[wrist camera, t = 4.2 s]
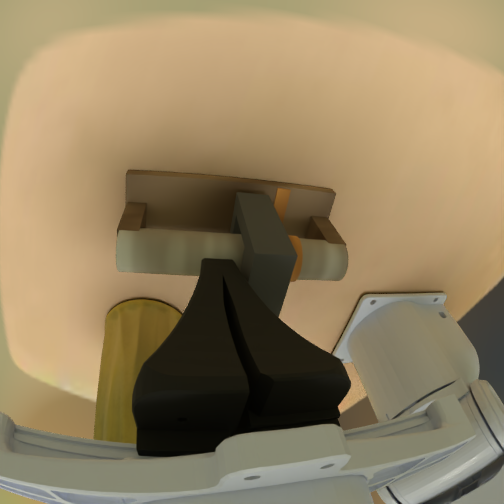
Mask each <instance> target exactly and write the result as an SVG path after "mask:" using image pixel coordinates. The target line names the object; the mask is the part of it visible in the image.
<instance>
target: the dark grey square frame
mask: <svg viewBox="0 0 504 504" xmlns="http://www.w3.org/2000/svg"><path fill="white" fill-rule="evenodd" d="M230 233H232V234H241V235H242V239H243V243H244V252H243V257H242V262H241V268H240V271H241V273H242V274H243V276H244V277H245V279H246V280H247V282H248V283H249V285H250V286H251V287H252V289H253V290H254V291H255V292H256V294H257V295H258V296H259V297H260V299H261V300H262V301H263V302H264V303H265V304H266V306H267V307H268V308H269V309H270V310H271V311H272V312H273V313H274V314H275V315H276V316H277V317H279V314H280V311H281V308H282V305H283V302H284V299H285V295H286V292H287V289H288V286H289V283H290V279H291V276H292V273H293V270H294V266H295V263H296V260H297V257H298V255H297V253H296V251H295V249H294V247H293V245H292V242H291V240H290V238H289V236H288V234H287V232H286V230H285V228H284V226H283V224H282V222H281V220H280V217H279V215H278V213H277V211H276V209H275V207H274V205H273V203H272V201H271V199H270V197H269V195H262V194H252V193H241V192H237V193H236V199H235V205H234V211H233V217H232V223H231V229H230Z"/></svg>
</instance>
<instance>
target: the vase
mask: <svg viewBox="0 0 504 504" xmlns="http://www.w3.org/2000/svg"><path fill="white" fill-rule="evenodd" d="M181 316H182V315H181V314H180V313H179V312H178V311H177V310H175V309H174V308H172V307H171V306H169V305H167V304H164V303H161V302H158V301H154V300H146V299H137V300H130V301H126V302H123V303H121V304H119V305H117V306H116V307H114V308H113V309H112V310H111V311H110V312H109V313H108V315H107V317H106V320H105V337H104V343H103V350H102V357H101V365H100V375H99V384H98V393H97V402H96V414H95V426H94V427H95V428H94V440H101V441H110V442H119V443H131V444H136V436H137V427H136V424H135V420H134V417H133V413H132V394H133V389H134V385H135V382H136V379H137V377H138V374H139V372H140V370H141V367H142V365H143V363H144V362H145V361H146V360H147V359H148V358H149V357H150V356H151V355H152V354H153V353H154V352H155V351H156V350H157V349H158V348H159V346H160V345H161V344H162V343H163V342H164V340H165V339H166V338H167V337H168V335H169V334H170V333H171V332H172V330H173V329H174V327H175V326H176V324H177V323H178V321H179V320H180V318H181Z"/></svg>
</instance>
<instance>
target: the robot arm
mask: <svg viewBox="0 0 504 504" xmlns="http://www.w3.org/2000/svg"><path fill="white" fill-rule="evenodd" d="M446 298H447V295H446V294H445V293H414V294H367V295H364V296H363V297H362V298H361V299H360V301H359V303H358V305H357V307H356V309H355V311H354V313H353V315H352V317H351V319H350V321H349V323H348V325H347V327H346V329H345V331H344V333H343V335H342V337H341V339H340V341H339V343H338V344H337V346H336V348H335V350H334V352H333V354H330V353H328V352H326V351H324V350H322V349H320V348H319V347H317V346H315V345H314V344H312V343H311V342H309V341H307V340H306V339H305V338H303V337H302V336H300V335H299V334H297V333H296V332H295V331H294V330H292V329H291V328H290V327H288V326H287V325H286V324H285V323H284V322H283V321H281V320H280V319H279V318H278V317H277V316H276V315H275V314H274V313H273V312H272V311H271V310H270V309H269V308H268V307H267V306H266V304H265V303H264V302H263V301H262V300H261V299H260V297H259V296H258V295H257V294H256V292H255V291H254V290H253V289H252V287H251V286H250V285H249V283H248V282H247V280H246V279H245V277H244V276H243V274H242V273H241V271H240V270H239V268H238V267H237V265H236V263H235V262H234V261H233V260H232V259H214V258H204V259H202V260H201V269H200V276H199V279H198V282H197V285H196V288H195V290H194V293H193V295H192V297H191V299H190V302H189V304H188V306H187V308H186V309H185V311H184V313H183V315H182V316H181V318H180V320H179V321H178V323H177V324H176V326H175V327H174V329H173V330H172V332H171V333H170V334H169V335H168V337H167V338H166V339H165V340H164V342H163V343H162V344H161V345H160V346H159V348H158V349H157V350H156V351H155V352H154V353H153V354H152V355H151V356H150V357H149V358H148V359H147V360H146V361H145V362H144V363H143V365H142V367H141V370H140V372H139V374H138V377H137V379H136V382H135V385H134V389H133V394H132V413H133V417H134V420H135V424H136V427H137V436H136V444H131V443H119V442H110V441H101V440H93V439H86V438H79V437H72V436H67V435H61V434H56V433H51V432H45V431H41V430H36V429H32V428H28V427H24V426H20V425H15V424H14V422H13V420H12V419H11V418H10V417H9V416H8V415H6V414H5V413H2V412H0V488H1V489H4V490H6V491H9V492H12V493H15V494H18V495H22V496H24V497H28V498H31V499H34V500H38V501H41V502H44V503H47V504H374V502H373V499H372V497H371V493H370V492H372V491H375V490H377V492H378V494H379V496H380V497H381V499H382V500H383V501H384V502H385V503H386V504H504V405H503V404H502V402H501V400H500V399H499V397H498V395H497V394H496V392H495V391H494V390H493V388H492V387H491V385H490V384H489V383H488V382H487V381H485V380H478V376H479V360H478V356H477V353H476V350H475V348H474V347H473V345H472V344H471V342H470V341H469V339H468V338H467V337H466V335H465V334H464V332H463V331H462V329H461V328H460V327H459V325H458V324H457V322H456V321H455V320H454V318H453V317H452V316H451V314H450V313H449V311H448V310H447V309H446V307H445V306H444V305H443V304H444V302H445V300H446ZM350 362H353V364H354V366H355V368H356V370H357V373H358V375H359V377H360V379H361V382H362V384H363V386H364V389H365V391H366V393H367V396H368V398H369V400H370V402H371V405H372V407H373V410H374V412H375V414H376V417H377V419H378V422H379V423H377V424H373V425H368V426H364V427H360V428H355V429H350V430H345V431H343V430H342V428H341V427H340V424H339V421H338V418H339V417H340V412H339V409H338V405H339V404H340V403H341V401H342V400H343V399H344V397H345V396H346V395H347V393H348V391H349V389H350V387H351V381H350V379H349V376H348V374H347V372H346V369H345V367H344V365H343V364H342V363H350Z"/></svg>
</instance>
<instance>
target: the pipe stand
mask: <svg viewBox="0 0 504 504" xmlns="http://www.w3.org/2000/svg"><path fill="white" fill-rule="evenodd" d="M237 192H241V193H252V194H262V195H269V197H270V199H271V201H272V203H273V205H274V207H275V209H276V211H277V213H278V215H279V217H280V220H281V222H282V224H283V226H284V228H285V230H286V232H287V234H288V236H289V238H290V240H291V242H292V245H293V247H294V249H295V251H296V253H297V255H298V257H297V260H296V263H295V266H294V270H293V273H292V276H291V279H290V282H294V281H296V280H332V281H339V280H341V279H342V278H343V277H344V276H345V274H346V271H347V267H348V252H347V248H346V243H345V242H344V241H343V239H342V238H341V236H340V235H339V233H338V232H337V231H336V229H335V228H334V226H333V225H332V224H331V222H330V221H329V219H328V218H329V215H330V212H331V209H332V205H333V202H334V199H335V196H336V193H335V192H334V191H333V190H332V189H327V188H320V187H313V186H305V185H298V184H290V183H282V182H273V181H265V180H256V179H246V178H236V177H226V176H214V175H202V174H189V173H175V172H159V171H139V170H128V171H127V173H126V207H125V210H124V212H123V215H122V218H121V220H120V223H119V226H118V229H117V245H116V265H117V270H118V271H119V272H134V273H151V274H170V275H190V276H200V269H201V260H202V259H204V258H214V259H232V260H233V261H234V262H235V263H236V265H237V267H238V268H239V270H240V268H241V262H242V257H243V252H244V243H243V239H242V235H241V234H232V233H230V229H231V223H232V217H233V211H234V205H235V199H236V193H237Z"/></svg>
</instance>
